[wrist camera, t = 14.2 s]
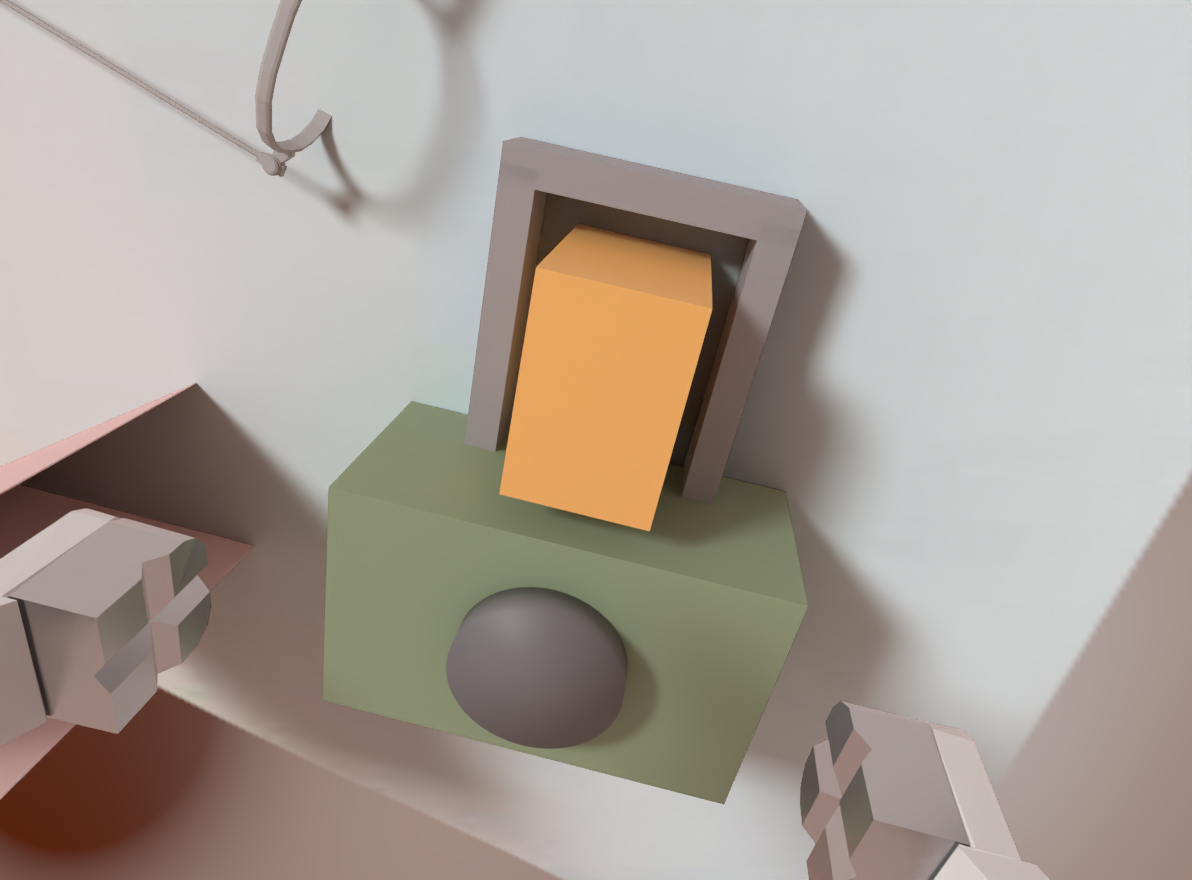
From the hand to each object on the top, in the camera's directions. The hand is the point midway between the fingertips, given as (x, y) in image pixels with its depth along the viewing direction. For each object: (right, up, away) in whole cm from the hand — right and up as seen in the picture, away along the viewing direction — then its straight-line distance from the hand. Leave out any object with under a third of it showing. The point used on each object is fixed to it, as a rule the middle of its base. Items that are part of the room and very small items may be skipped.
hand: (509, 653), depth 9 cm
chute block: (+2, +6, +13) cm, 15 cm away
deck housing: (+1, +2, +15) cm, 15 cm away
